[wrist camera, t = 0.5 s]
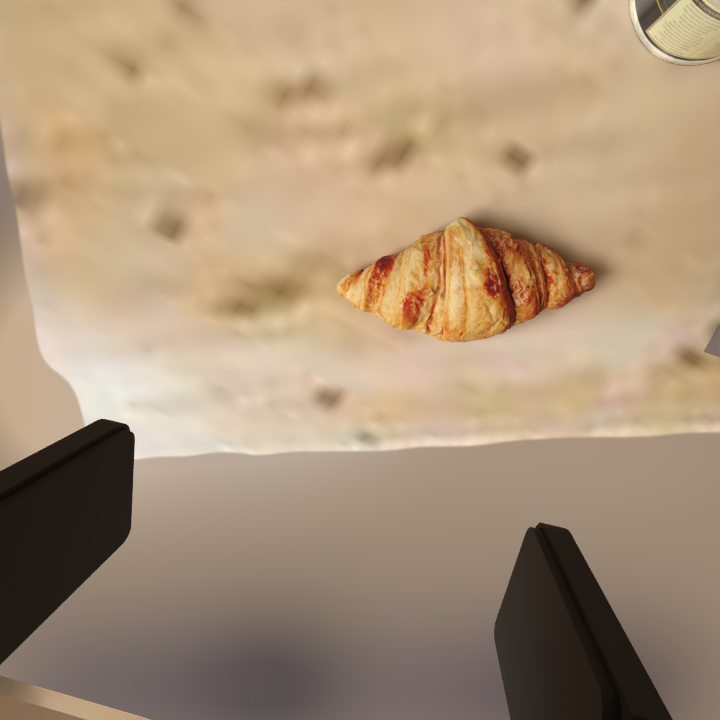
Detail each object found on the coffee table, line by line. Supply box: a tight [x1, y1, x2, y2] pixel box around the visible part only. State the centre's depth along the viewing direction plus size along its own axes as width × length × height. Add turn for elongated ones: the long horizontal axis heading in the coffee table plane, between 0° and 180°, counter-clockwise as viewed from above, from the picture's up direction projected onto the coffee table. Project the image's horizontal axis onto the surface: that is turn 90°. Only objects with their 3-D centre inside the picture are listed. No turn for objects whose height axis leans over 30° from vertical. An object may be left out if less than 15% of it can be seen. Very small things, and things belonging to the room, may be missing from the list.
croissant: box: [337, 217, 595, 342], centre depth 35 cm, size 21×10×8 cm, turn 94°
